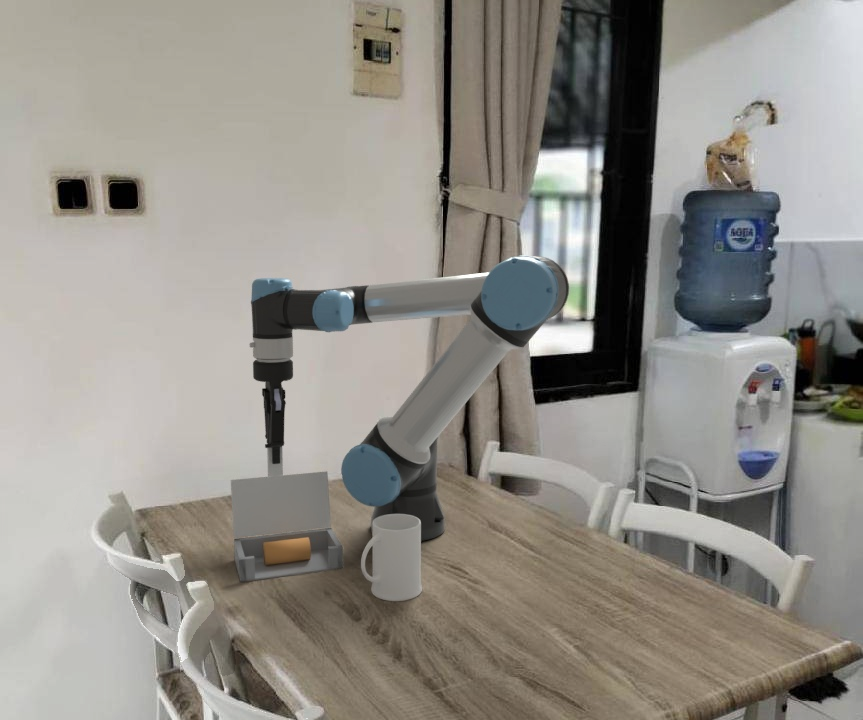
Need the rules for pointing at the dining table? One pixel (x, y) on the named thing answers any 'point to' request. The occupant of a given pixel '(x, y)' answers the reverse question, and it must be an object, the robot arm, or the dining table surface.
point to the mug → (395, 557)
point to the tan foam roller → (286, 551)
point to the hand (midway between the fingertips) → (275, 478)
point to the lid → (280, 504)
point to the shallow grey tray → (253, 567)
